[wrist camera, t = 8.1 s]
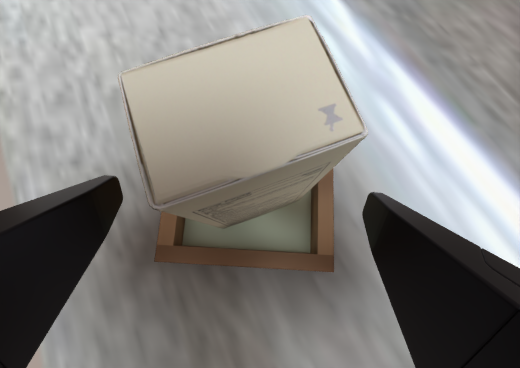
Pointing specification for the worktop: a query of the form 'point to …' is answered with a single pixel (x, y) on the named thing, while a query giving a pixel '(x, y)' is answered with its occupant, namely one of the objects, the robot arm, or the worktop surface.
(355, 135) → the skincare box
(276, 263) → the tray
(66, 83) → the worktop surface
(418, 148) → the worktop surface
